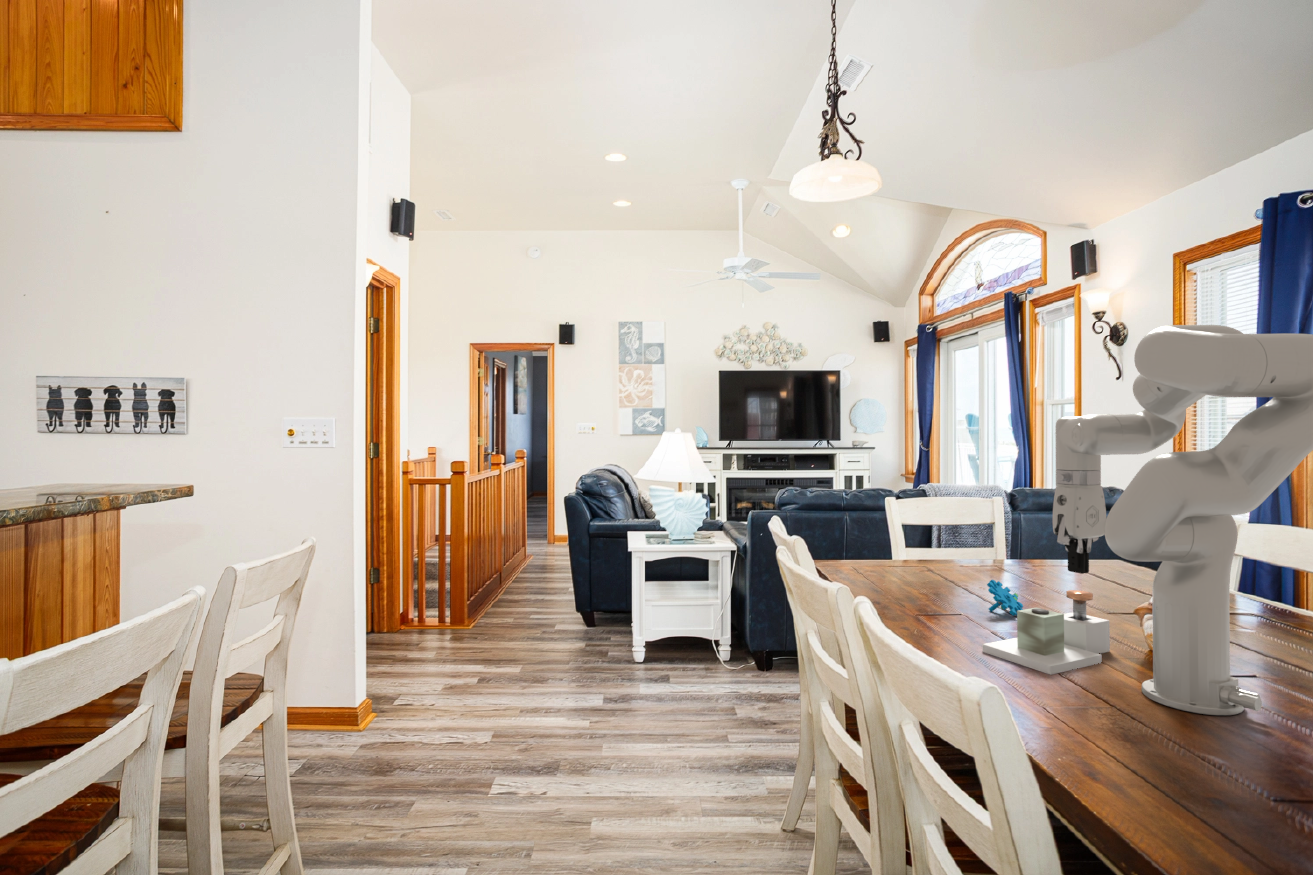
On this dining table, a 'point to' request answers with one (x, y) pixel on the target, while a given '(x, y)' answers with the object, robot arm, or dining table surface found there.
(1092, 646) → the press bed
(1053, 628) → the block
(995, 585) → the gear
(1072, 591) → the press pin
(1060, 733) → the dining table surface
